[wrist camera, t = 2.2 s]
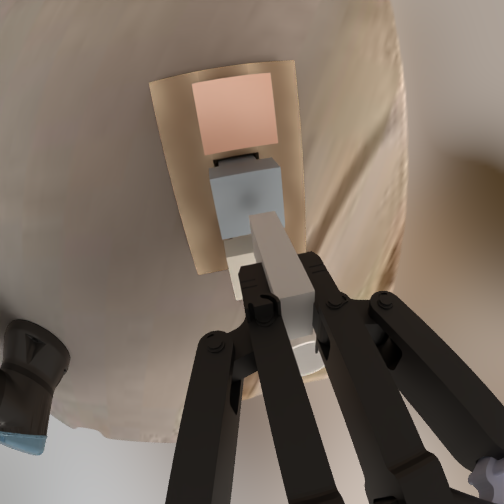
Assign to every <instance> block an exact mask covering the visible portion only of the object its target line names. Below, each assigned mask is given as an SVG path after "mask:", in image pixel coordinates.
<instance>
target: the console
mask: <svg viewBox="0 0 504 504" xmlns="http://www.w3.org/2000/svg"><path fill="white" fill-rule="evenodd" d="M261 73H271V82H272V90H273V98H274V107H275V116H276V126H277V135H278V143H276V144H269V145H262V146H255V147H249V148H243V149H237V150H231V151H226V152H220V153H215V154H210V155H205V154H204V149H203V144H202V138H201V133H200V128H199V122H198V117H197V111H196V106H195V100H194V95H193V89H192V84H194V83H199V82H204V81H209V80H215V79H221V78H228V77H235V76H242V75H251V74H261ZM149 86H150V91H151V96H152V101H153V106H154V111H155V116H156V120H157V125H158V129H159V134H160V138H161V142H162V147H163V151H164V155H165V159H166V163H167V167H168V171H169V175H170V179H171V183H172V187H173V191H174V194H175V198H176V202H177V205H178V209H179V213H180V216H181V220H182V223H183V227H184V230H185V234H186V237H187V240H188V244H189V247H190V250H191V254H192V257H193V260H194V263H195V267H196V270H197V273H198V275H202V274H207V273H212V272H217V271H222V270H227V269H229V268H228V263H227V259H226V253H225V247H224V240H229V239H232V238H228V239H223V240H222V236H221V232H220V227H219V222H218V218H217V213H216V208H215V203H214V199H213V194H212V189H211V184H210V178H209V168H213V167H218V166H219V165H218V160H222V159H227V158H232V157H238V156H244V155H250V154H253V155H254V157H255V158H256V160H258V159H264V158H271V157H272V158H273V159H274V160H275V161H276V163H277V164H278V165H279V166H280V167H281V178H282V190H283V203H284V217H285V227H284V229H285V231H286V233H287V235H288V237H289V239H290V241H291V243H292V245H293V247H294V249H295V251H296V253H297V254H301V253H306V225H305V193H304V171H303V153H302V138H301V125H300V112H299V101H298V91H297V81H296V72H295V63H294V60H291V61H271V62H259V63H248V64H240V65H232V66H225V67H218V68H212V69H206V70H201V71H196V72H191V73H186V74H181V75H177V76H173V77H169V78H165V79H161V80H157V81H153V82H150V83H149Z"/></svg>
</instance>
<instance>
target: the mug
mask: <svg viewBox="0 0 504 504" xmlns="http://www.w3.org/2000/svg"><path fill="white" fill-rule="evenodd" d="M290 343H291V346H292V349H293V352H294V355H295V358H296V361H297V365H298V368H299V371H300V374H301V376H305V375H309V374H311V373H314V372H316V371H318V370H320V369H322V368H323V367H325V365H324V363H323V360H322V357H321V355H320V352H319V350H318V353H317V354H315V344H316V333H315V331H314V328H313V334H312V335H308V336H304V337H300V338H296V339H292V340H290Z"/></svg>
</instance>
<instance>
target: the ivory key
mask: <svg viewBox="0 0 504 504" xmlns="http://www.w3.org/2000/svg"><path fill="white" fill-rule="evenodd" d="M224 247H225V253H226V259H227V263H228V268H229V272H230V276H231V281H232V285H233V289H234V294H235V298H236V301H237V300H242V299H243V297H242V292H241V287H240V282H239V277H238V273H239V270H240V267H241V266H245V265H250V264H255V263H256V259H255V256H254V250H253V243H252V236H251V234H248V235H243V236H238V237H233V238H232V239H229V240H224Z"/></svg>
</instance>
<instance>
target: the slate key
mask: <svg viewBox="0 0 504 504" xmlns="http://www.w3.org/2000/svg"><path fill="white" fill-rule="evenodd" d="M218 165H219V166H218V167H213V168H209V178H210V184H211V189H212V194H213V199H214V203H215V208H216V213H217V218H218V222H219V227H220V232H221V236H222V240H223V239H228V238H233V237H238V236H243V235H248V234H251V230H250V223H249V215H254V214H260V213H265V212H271V211H275V212H276V214H277V216H278V218H279V220H280V222H281V224H282V226H283V227H285V217H284V203H283V190H282V178H281V167H280V166H279V165H278V164H277V163H276V161H275V160H274V159H273V158H272V157H271V158H264V159H258V160H256V158H255V157H254V155H253V154H250V155H244V156H238V157H232V158H227V159H222V160H218Z"/></svg>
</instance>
